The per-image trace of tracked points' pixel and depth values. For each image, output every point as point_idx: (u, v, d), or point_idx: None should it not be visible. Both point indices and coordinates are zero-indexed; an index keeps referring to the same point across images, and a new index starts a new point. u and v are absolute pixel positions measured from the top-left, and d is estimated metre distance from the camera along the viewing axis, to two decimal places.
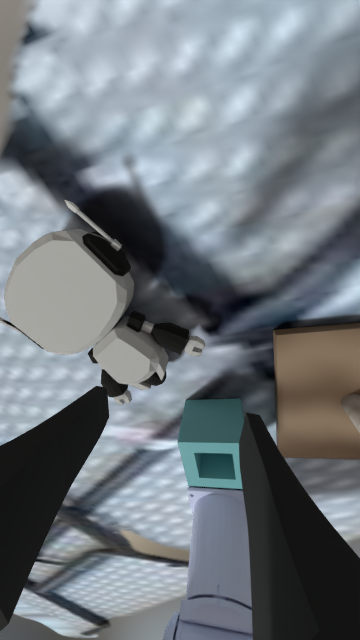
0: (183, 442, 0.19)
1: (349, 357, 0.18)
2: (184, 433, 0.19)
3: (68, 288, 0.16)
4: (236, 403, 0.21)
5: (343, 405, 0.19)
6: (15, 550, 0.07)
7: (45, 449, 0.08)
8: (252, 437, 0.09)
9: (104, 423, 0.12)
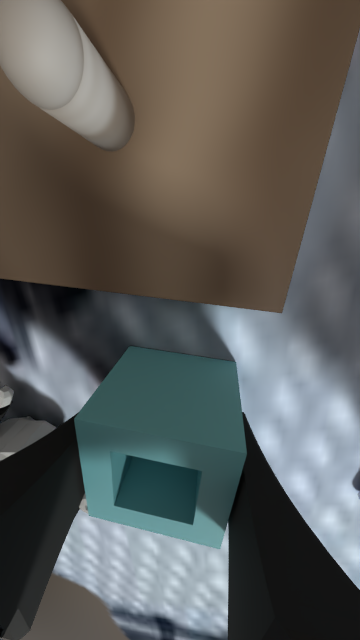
0: None
1: None
2: None
3: None
4: None
5: (101, 146, 0.07)
6: (37, 556, 0.07)
7: (65, 453, 0.07)
8: None
9: None
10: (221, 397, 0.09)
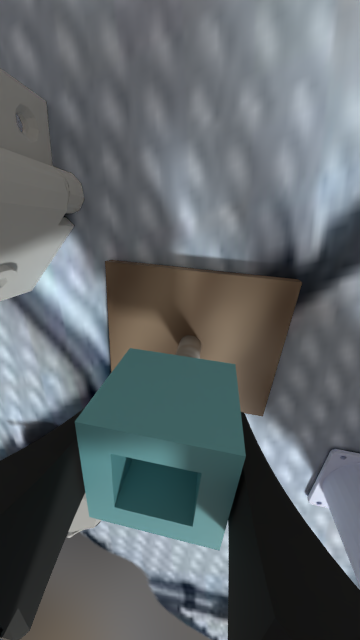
0: (88, 509, 0.09)
1: (137, 343, 0.19)
2: None
3: None
4: None
5: None
6: (37, 556, 0.07)
7: (65, 453, 0.07)
8: None
9: None
10: (220, 400, 0.09)
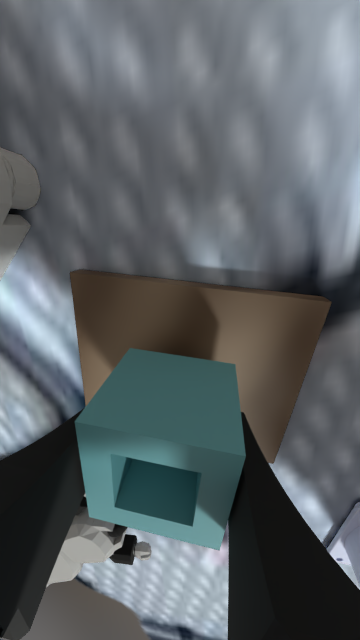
0: (88, 509, 0.09)
1: None
2: None
3: None
4: None
5: None
6: (36, 556, 0.07)
7: (64, 453, 0.07)
8: None
9: None
10: (220, 399, 0.09)
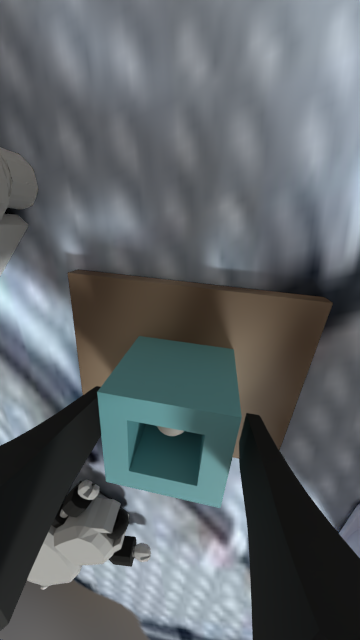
0: (105, 474, 0.11)
1: None
2: None
3: None
4: None
5: None
6: (15, 550, 0.07)
7: (45, 449, 0.08)
8: (252, 437, 0.09)
9: None
10: (220, 376, 0.10)
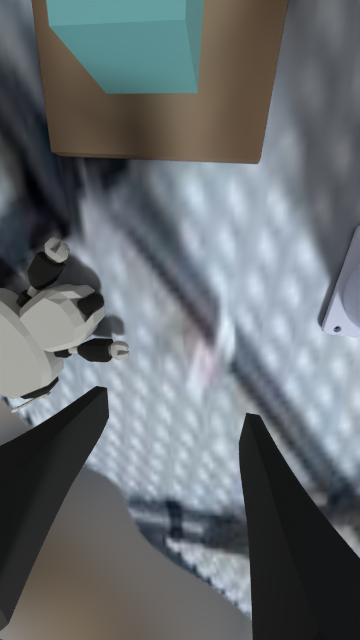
0: (47, 5, 0.09)
1: None
2: None
3: None
4: None
5: None
6: (15, 550, 0.07)
7: (45, 449, 0.08)
8: (252, 437, 0.09)
9: (104, 423, 0.12)
10: None
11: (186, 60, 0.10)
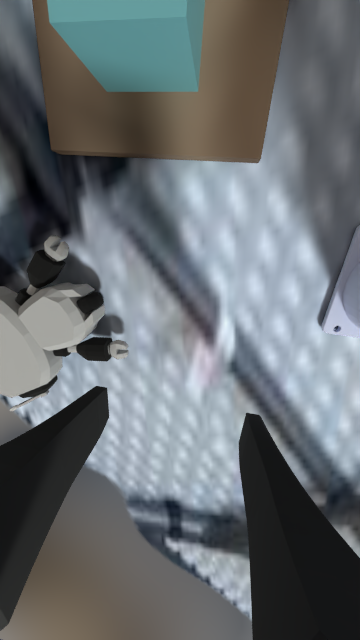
0: (47, 2, 0.09)
1: None
2: None
3: None
4: None
5: None
6: (15, 550, 0.07)
7: (45, 449, 0.08)
8: (252, 437, 0.09)
9: (104, 423, 0.12)
10: None
11: (187, 58, 0.10)
